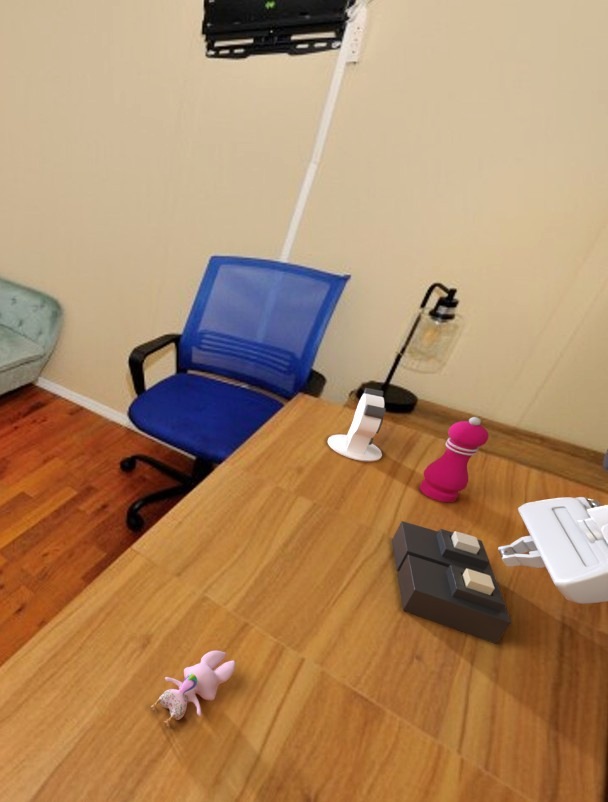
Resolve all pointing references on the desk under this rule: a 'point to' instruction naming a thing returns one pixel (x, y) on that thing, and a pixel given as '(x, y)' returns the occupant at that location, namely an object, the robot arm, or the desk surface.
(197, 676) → the rabbit figure
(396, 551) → the low key box
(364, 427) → the white curved stand
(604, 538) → the robot arm
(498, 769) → the desk surface
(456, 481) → the pepper mill
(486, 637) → the high key box
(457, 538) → the low key
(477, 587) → the high key
